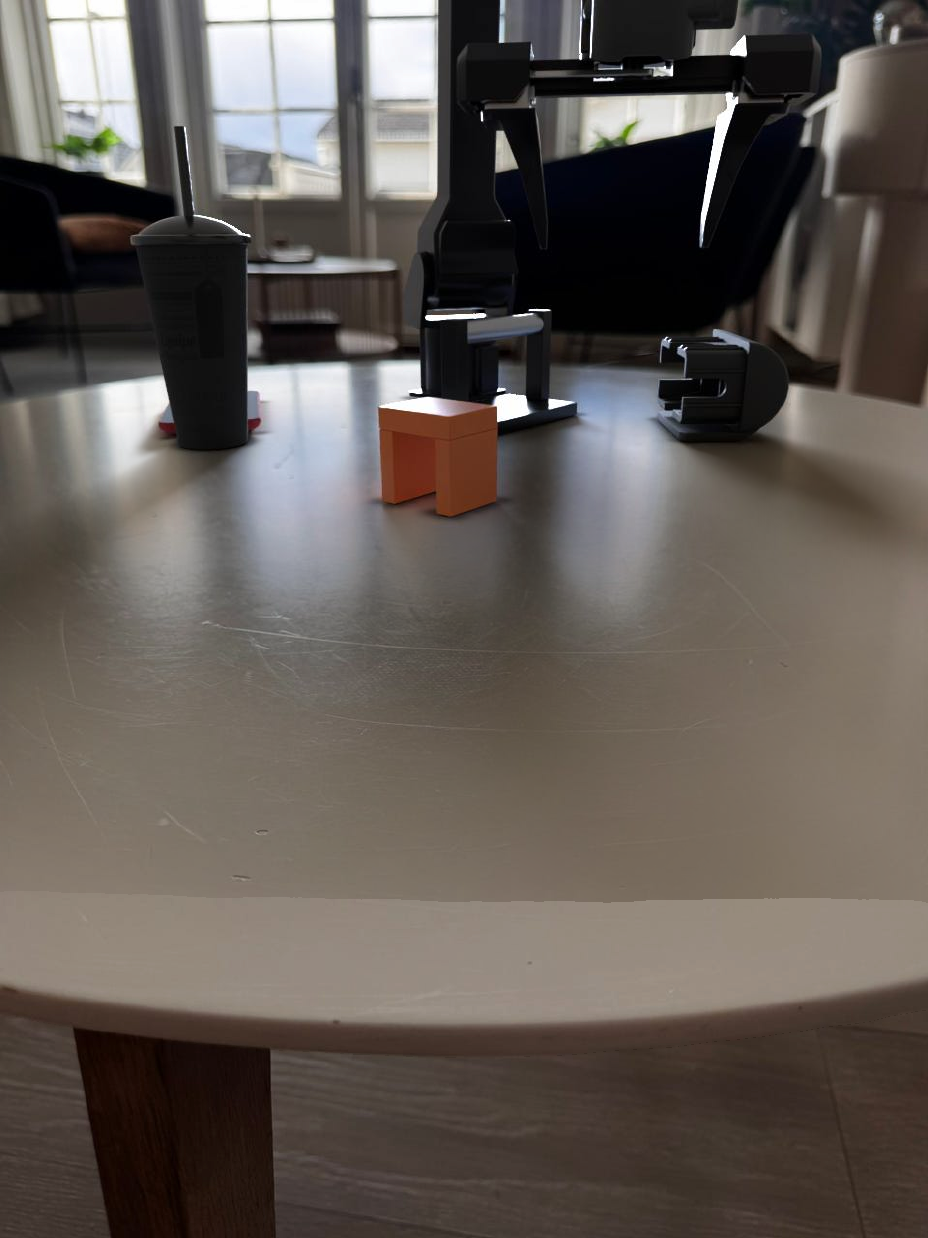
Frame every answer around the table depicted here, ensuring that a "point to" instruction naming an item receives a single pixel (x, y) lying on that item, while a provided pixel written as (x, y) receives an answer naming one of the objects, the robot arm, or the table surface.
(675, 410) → the end cap
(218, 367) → the drinking cup
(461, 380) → the rack
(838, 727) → the table surface
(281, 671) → the table surface
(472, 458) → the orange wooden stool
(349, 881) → the table surface
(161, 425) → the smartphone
